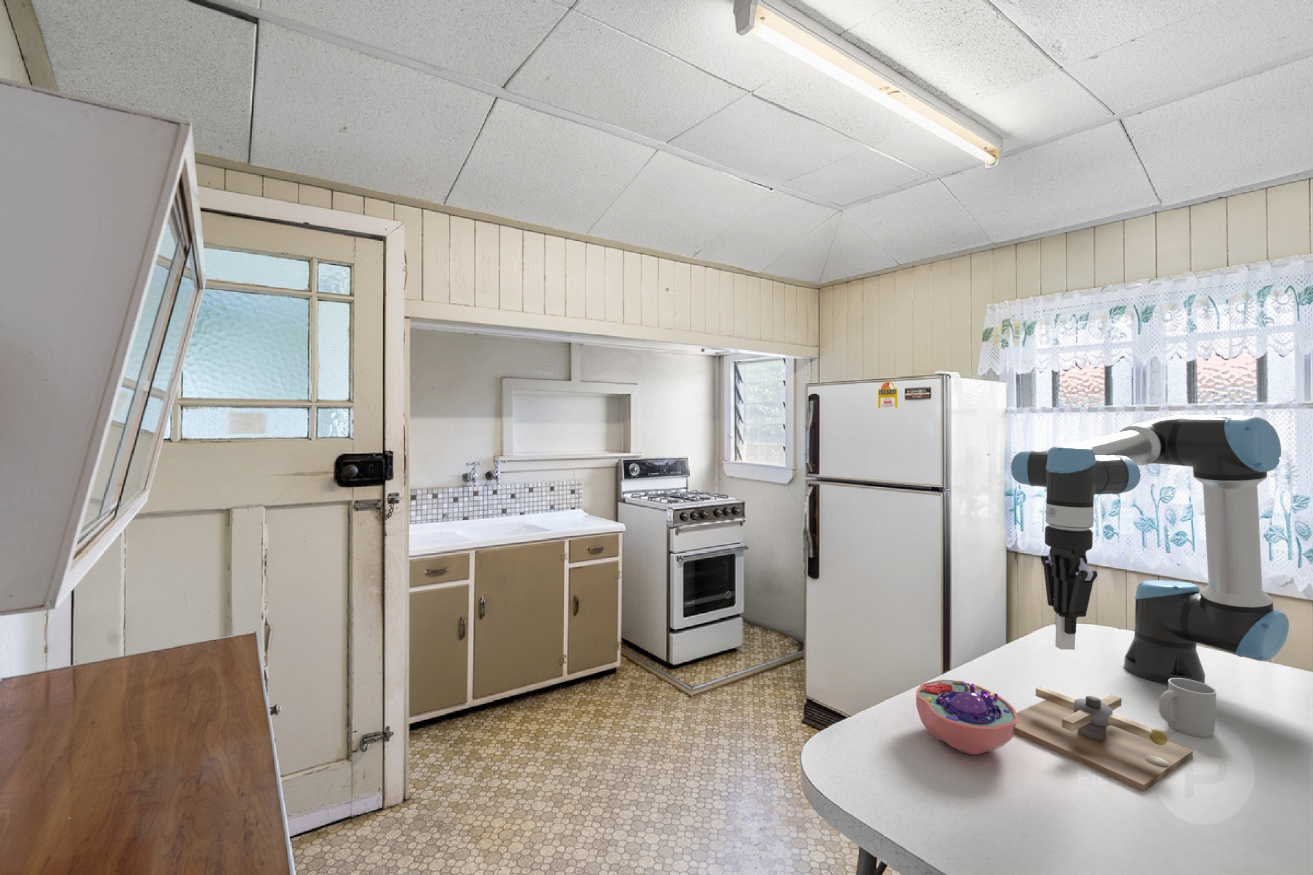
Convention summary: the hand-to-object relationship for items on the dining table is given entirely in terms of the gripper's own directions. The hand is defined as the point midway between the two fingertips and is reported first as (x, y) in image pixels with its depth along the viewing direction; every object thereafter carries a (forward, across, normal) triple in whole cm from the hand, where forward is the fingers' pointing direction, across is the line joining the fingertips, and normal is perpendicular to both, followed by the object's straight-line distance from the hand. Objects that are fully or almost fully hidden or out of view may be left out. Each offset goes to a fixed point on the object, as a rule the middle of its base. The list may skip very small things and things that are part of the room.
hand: (1064, 647), depth 113 cm
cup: (+19, -7, +28) cm, 35 cm away
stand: (+19, -1, +6) cm, 20 cm away
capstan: (+14, 0, +6) cm, 16 cm away
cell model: (+19, +2, -20) cm, 27 cm away
